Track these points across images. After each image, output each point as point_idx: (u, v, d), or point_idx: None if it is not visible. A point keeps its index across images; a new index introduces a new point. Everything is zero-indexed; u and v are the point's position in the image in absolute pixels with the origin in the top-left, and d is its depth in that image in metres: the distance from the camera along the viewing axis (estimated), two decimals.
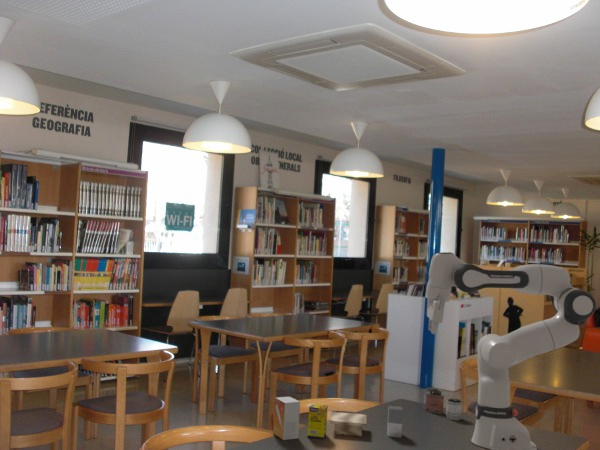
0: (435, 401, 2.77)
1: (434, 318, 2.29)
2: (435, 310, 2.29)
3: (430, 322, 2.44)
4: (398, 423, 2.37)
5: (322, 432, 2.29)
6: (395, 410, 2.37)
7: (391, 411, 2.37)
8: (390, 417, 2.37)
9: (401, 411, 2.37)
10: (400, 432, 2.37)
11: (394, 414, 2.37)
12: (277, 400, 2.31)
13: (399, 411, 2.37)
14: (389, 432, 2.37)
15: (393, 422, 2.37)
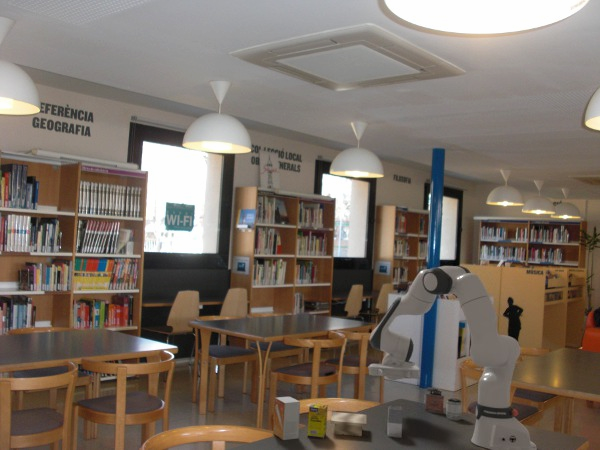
0: (435, 401, 2.77)
1: None
2: None
3: None
4: (398, 423, 2.37)
5: (322, 432, 2.29)
6: (395, 410, 2.37)
7: (391, 411, 2.37)
8: (390, 417, 2.37)
9: (401, 411, 2.37)
10: (400, 432, 2.37)
11: (394, 414, 2.37)
12: (277, 400, 2.31)
13: (399, 411, 2.37)
14: (389, 432, 2.37)
15: (393, 422, 2.37)
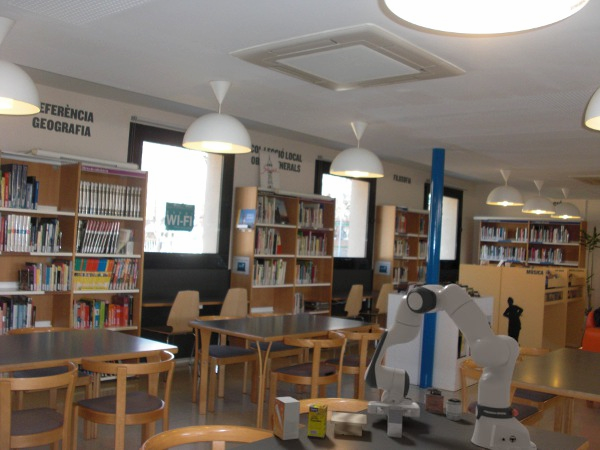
0: (435, 401, 2.77)
1: None
2: None
3: None
4: (398, 423, 2.37)
5: (322, 432, 2.29)
6: (395, 410, 2.37)
7: (391, 411, 2.37)
8: (390, 417, 2.37)
9: (401, 411, 2.37)
10: (400, 432, 2.37)
11: (394, 414, 2.37)
12: (277, 400, 2.31)
13: (399, 411, 2.37)
14: (389, 432, 2.37)
15: (393, 422, 2.37)
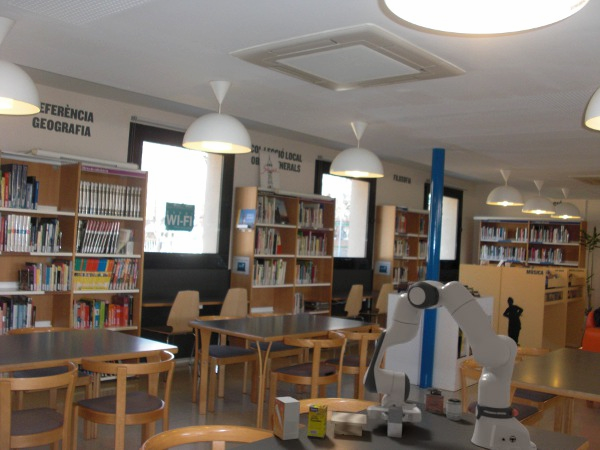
0: (435, 401, 2.77)
1: None
2: None
3: None
4: (398, 423, 2.37)
5: (322, 432, 2.29)
6: (395, 410, 2.37)
7: (391, 411, 2.37)
8: (390, 417, 2.37)
9: (401, 411, 2.37)
10: (400, 432, 2.37)
11: (394, 414, 2.37)
12: (277, 400, 2.31)
13: (399, 411, 2.37)
14: (389, 432, 2.37)
15: (393, 422, 2.37)
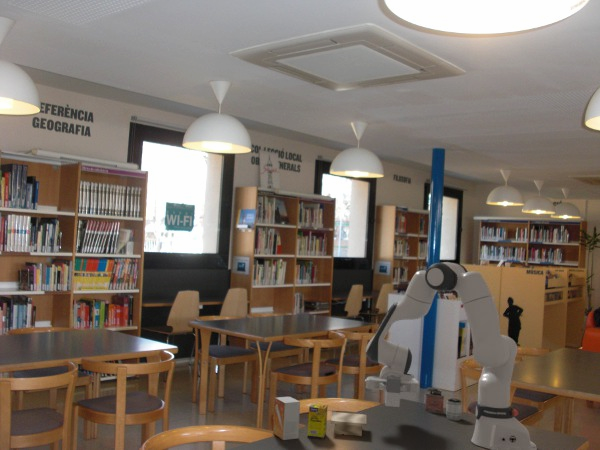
0: (435, 401, 2.77)
1: None
2: None
3: None
4: (396, 392, 2.37)
5: (322, 432, 2.29)
6: (393, 380, 2.38)
7: (389, 381, 2.38)
8: (388, 386, 2.38)
9: (399, 381, 2.37)
10: (398, 401, 2.37)
11: (392, 383, 2.38)
12: (277, 400, 2.31)
13: (397, 380, 2.38)
14: (387, 401, 2.38)
15: (391, 391, 2.38)
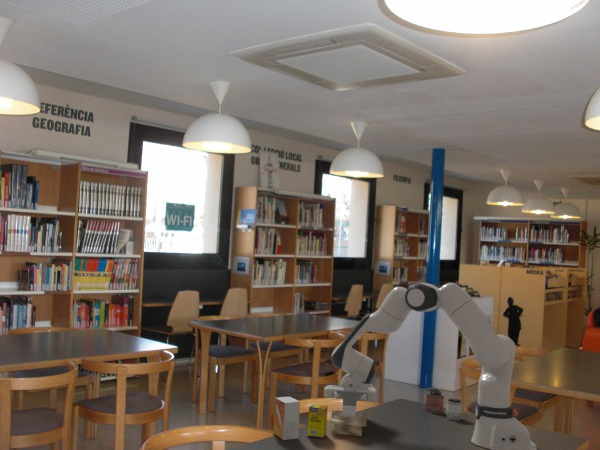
0: (435, 401, 2.77)
1: None
2: None
3: None
4: (352, 405, 2.39)
5: (322, 432, 2.29)
6: (349, 393, 2.39)
7: (345, 394, 2.39)
8: (344, 399, 2.39)
9: (355, 394, 2.39)
10: (354, 414, 2.38)
11: (348, 396, 2.39)
12: (277, 400, 2.31)
13: (354, 393, 2.39)
14: (343, 414, 2.39)
15: (347, 404, 2.39)
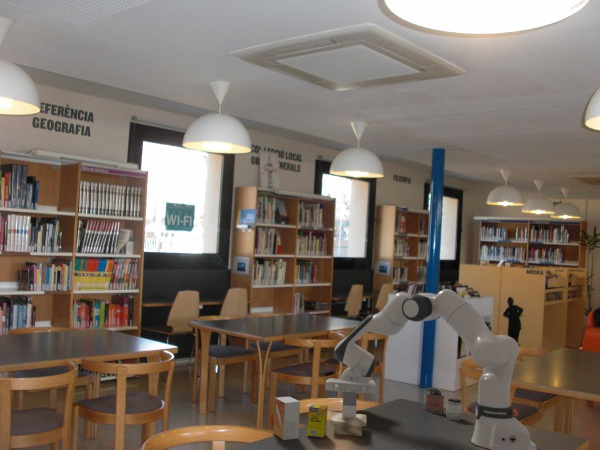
0: (435, 401, 2.77)
1: None
2: None
3: None
4: (352, 405, 2.39)
5: (322, 432, 2.29)
6: (349, 393, 2.39)
7: (345, 394, 2.39)
8: (344, 399, 2.39)
9: (355, 394, 2.39)
10: (354, 414, 2.38)
11: (348, 396, 2.39)
12: (277, 400, 2.31)
13: (354, 393, 2.39)
14: (343, 414, 2.39)
15: (347, 404, 2.39)
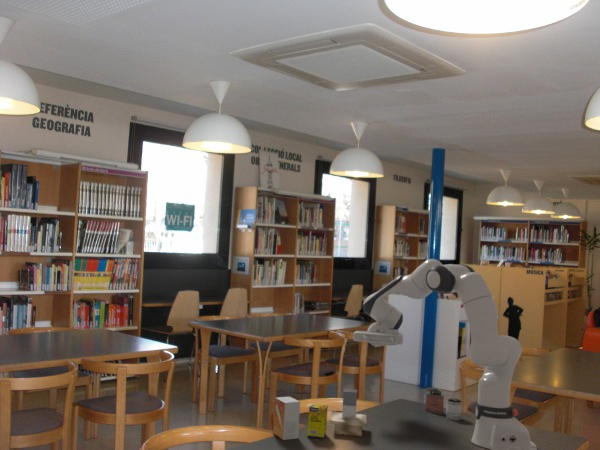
0: (435, 401, 2.77)
1: (353, 339, 2.66)
2: None
3: None
4: (352, 405, 2.39)
5: (322, 432, 2.29)
6: (349, 393, 2.39)
7: (345, 394, 2.39)
8: (344, 399, 2.39)
9: (355, 394, 2.39)
10: (354, 414, 2.38)
11: (348, 396, 2.39)
12: (277, 400, 2.31)
13: (354, 393, 2.39)
14: (343, 414, 2.39)
15: (347, 404, 2.39)
